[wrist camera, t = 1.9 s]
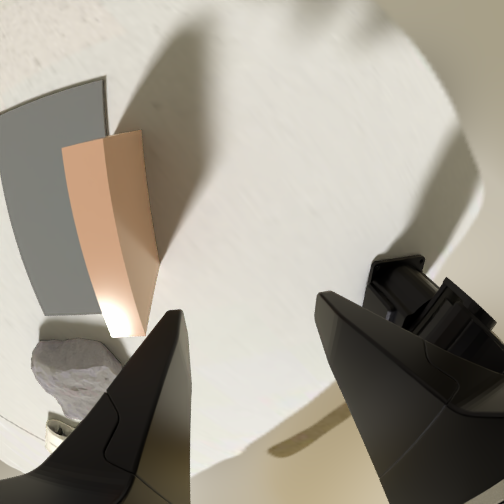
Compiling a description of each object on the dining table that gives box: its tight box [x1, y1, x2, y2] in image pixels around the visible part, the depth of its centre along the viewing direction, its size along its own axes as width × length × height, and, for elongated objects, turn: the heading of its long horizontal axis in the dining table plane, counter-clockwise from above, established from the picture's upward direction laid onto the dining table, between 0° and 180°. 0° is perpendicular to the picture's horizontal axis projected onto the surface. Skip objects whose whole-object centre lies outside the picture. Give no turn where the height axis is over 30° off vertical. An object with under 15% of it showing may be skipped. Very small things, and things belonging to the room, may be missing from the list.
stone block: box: [31, 338, 122, 420], centre depth 24 cm, size 12×5×10 cm
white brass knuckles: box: [45, 419, 75, 454], centre depth 32 cm, size 3×18×15 cm
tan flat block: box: [62, 130, 160, 337], centre depth 15 cm, size 2×10×8 cm, turn 1°
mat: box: [0, 80, 107, 316], centre depth 18 cm, size 10×18×1 cm, turn 1°
